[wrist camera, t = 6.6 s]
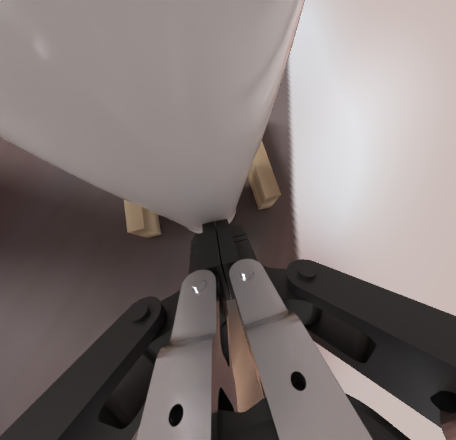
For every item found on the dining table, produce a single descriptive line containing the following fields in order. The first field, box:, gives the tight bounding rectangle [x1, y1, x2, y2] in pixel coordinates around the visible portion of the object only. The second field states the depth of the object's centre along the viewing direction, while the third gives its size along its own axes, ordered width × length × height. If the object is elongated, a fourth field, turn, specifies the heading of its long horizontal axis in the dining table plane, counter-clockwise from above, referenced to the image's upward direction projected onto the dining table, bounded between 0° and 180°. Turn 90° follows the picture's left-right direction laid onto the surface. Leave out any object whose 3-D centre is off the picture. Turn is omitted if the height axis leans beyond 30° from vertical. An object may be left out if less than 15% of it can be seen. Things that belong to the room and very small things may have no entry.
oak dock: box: [124, 141, 281, 238], centre depth 14 cm, size 11×10×4 cm
